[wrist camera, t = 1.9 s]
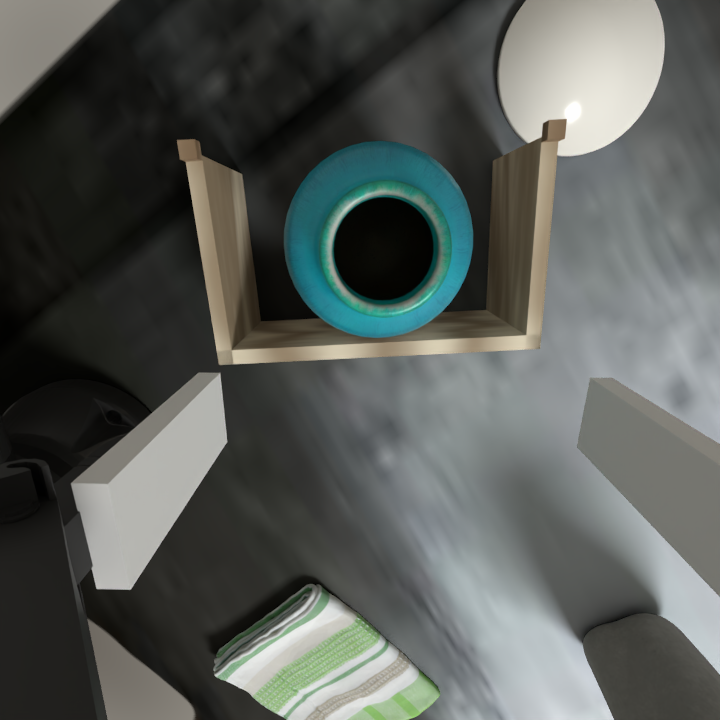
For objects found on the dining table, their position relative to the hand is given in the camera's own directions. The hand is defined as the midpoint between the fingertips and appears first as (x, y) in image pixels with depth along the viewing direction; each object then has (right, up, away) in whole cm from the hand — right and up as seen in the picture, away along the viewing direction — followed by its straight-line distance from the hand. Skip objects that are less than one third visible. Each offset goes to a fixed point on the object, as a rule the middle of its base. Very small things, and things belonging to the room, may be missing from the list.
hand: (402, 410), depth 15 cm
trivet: (+15, +24, +16) cm, 32 cm away
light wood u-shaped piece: (-1, +11, +20) cm, 23 cm away
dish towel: (-5, -36, +36) cm, 51 cm away
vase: (-1, +12, +20) cm, 23 cm away
